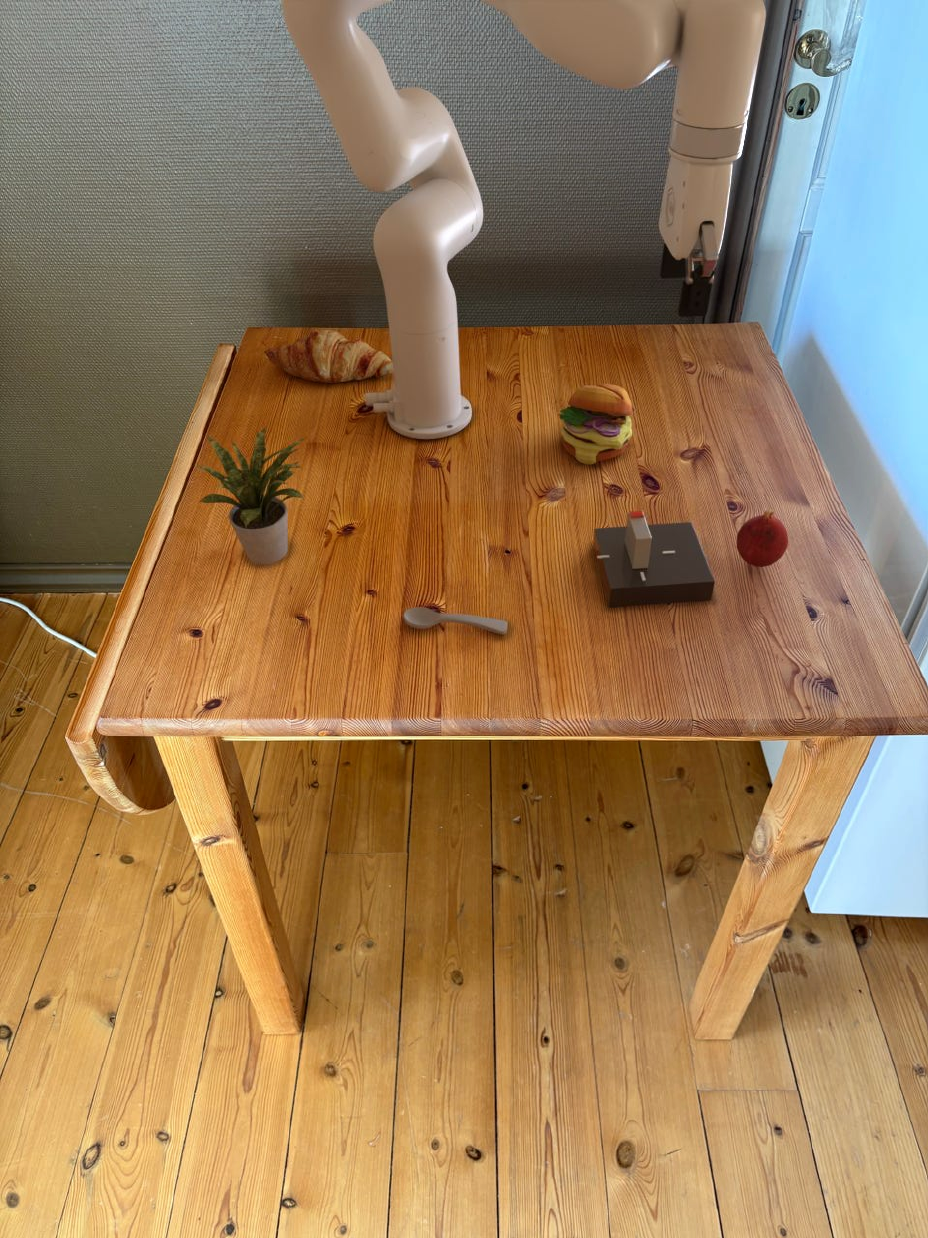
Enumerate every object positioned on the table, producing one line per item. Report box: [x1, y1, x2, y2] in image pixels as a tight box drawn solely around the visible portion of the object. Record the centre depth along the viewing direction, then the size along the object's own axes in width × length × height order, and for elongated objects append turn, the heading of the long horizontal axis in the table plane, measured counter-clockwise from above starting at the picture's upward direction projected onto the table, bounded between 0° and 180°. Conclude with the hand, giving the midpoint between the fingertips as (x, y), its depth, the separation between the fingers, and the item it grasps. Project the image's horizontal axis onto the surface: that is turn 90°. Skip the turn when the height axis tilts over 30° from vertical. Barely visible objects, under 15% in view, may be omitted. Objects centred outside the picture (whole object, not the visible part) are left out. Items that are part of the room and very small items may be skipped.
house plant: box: [197, 426, 307, 566], centre depth 111 cm, size 14×14×16 cm
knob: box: [625, 510, 652, 569], centre depth 108 cm, size 5×2×5 cm, turn 4°
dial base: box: [592, 521, 716, 609], centre depth 110 cm, size 13×11×3 cm
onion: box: [736, 508, 789, 568], centre depth 109 cm, size 6×6×8 cm
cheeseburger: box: [558, 383, 636, 465], centre depth 129 cm, size 10×11×10 cm
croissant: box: [266, 328, 393, 384], centre depth 147 cm, size 21×10×8 cm, turn 80°
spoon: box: [402, 606, 508, 636], centre depth 106 cm, size 3×12×2 cm, turn 82°
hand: (682, 295), depth 108 cm, fingers open, 9 cm apart
